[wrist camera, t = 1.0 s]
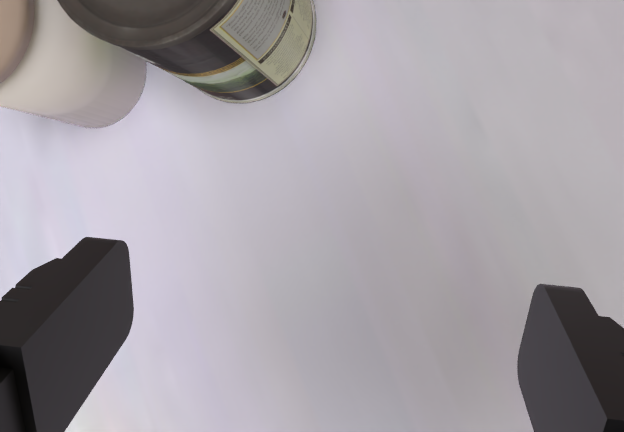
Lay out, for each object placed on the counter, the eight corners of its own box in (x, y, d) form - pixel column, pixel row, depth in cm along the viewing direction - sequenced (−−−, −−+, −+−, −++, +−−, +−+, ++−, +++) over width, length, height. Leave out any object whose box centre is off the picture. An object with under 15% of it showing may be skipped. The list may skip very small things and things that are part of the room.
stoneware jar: (88, -10, 42) (-66, -110, 29) (171, 60, 41) (50, -12, 28) (22, 83, 43) (-155, 27, 30) (101, 154, 42) (-48, 127, 29)
